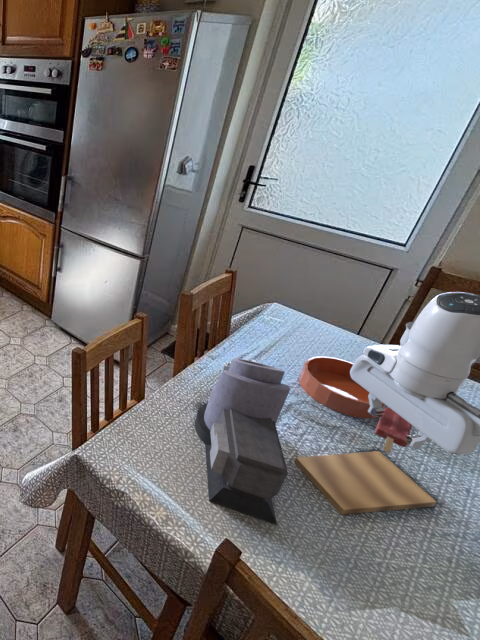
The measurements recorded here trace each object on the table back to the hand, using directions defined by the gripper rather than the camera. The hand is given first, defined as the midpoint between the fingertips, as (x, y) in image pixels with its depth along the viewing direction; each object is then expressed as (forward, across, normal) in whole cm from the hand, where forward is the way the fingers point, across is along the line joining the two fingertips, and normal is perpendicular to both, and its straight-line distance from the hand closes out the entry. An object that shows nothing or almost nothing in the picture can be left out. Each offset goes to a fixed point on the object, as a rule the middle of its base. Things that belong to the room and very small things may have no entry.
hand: (392, 429), depth 81 cm
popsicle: (+2, 0, -1) cm, 2 cm away
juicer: (+16, +9, +22) cm, 29 cm away
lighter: (+16, +32, +6) cm, 36 cm away
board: (+16, 0, 0) cm, 16 cm away
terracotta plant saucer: (+16, +25, -19) cm, 35 cm away
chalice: (+16, +27, -37) cm, 48 cm away
